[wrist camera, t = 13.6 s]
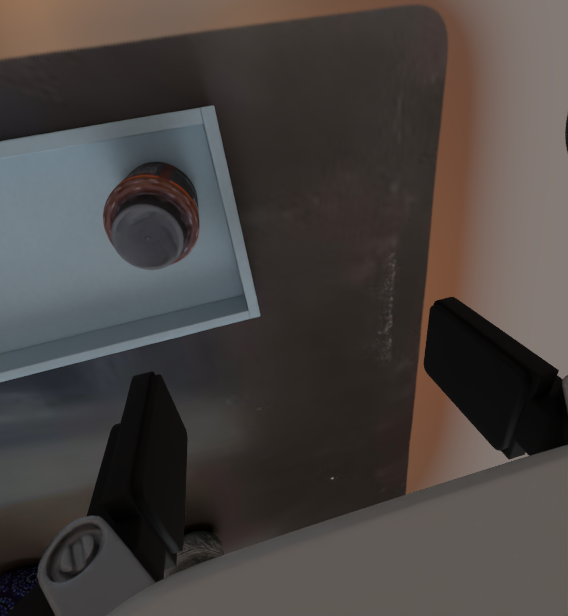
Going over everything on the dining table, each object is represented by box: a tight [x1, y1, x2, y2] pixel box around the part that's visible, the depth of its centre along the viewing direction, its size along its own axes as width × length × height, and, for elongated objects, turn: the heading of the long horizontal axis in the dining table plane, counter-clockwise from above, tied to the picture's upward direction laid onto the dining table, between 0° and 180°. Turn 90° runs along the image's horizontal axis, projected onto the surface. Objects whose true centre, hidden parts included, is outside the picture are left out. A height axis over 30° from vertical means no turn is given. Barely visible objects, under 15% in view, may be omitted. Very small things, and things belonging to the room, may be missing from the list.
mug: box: [164, 531, 224, 578], centre depth 52 cm, size 10×12×10 cm
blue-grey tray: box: [0, 105, 260, 382], centre depth 27 cm, size 34×18×4 cm, turn 99°
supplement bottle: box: [103, 162, 200, 270], centre depth 24 cm, size 6×6×11 cm
